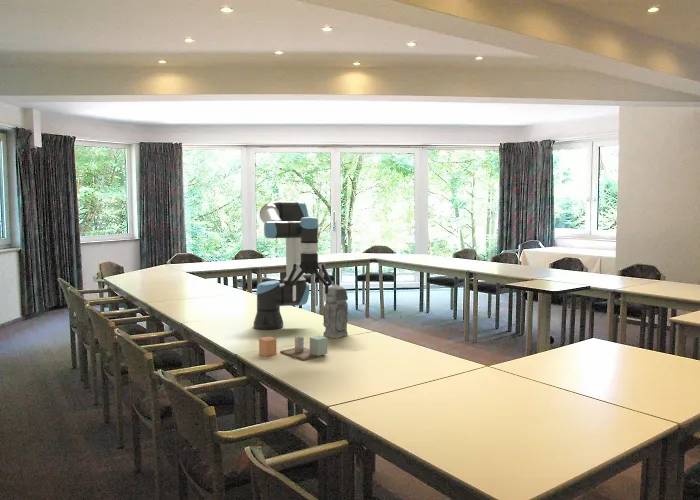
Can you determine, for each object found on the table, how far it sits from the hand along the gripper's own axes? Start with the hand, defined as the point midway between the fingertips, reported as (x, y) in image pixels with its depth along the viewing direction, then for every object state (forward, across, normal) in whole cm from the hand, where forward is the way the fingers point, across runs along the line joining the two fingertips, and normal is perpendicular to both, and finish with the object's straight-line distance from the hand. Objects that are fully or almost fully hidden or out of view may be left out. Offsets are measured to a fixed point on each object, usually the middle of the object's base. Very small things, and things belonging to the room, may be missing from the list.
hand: (309, 301), depth 244 cm
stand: (+21, 0, -12) cm, 24 cm away
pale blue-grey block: (+21, +7, -12) cm, 25 cm away
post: (+21, -2, -10) cm, 23 cm away
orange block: (+21, -15, -14) cm, 29 cm away
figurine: (+21, +7, +24) cm, 32 cm away
